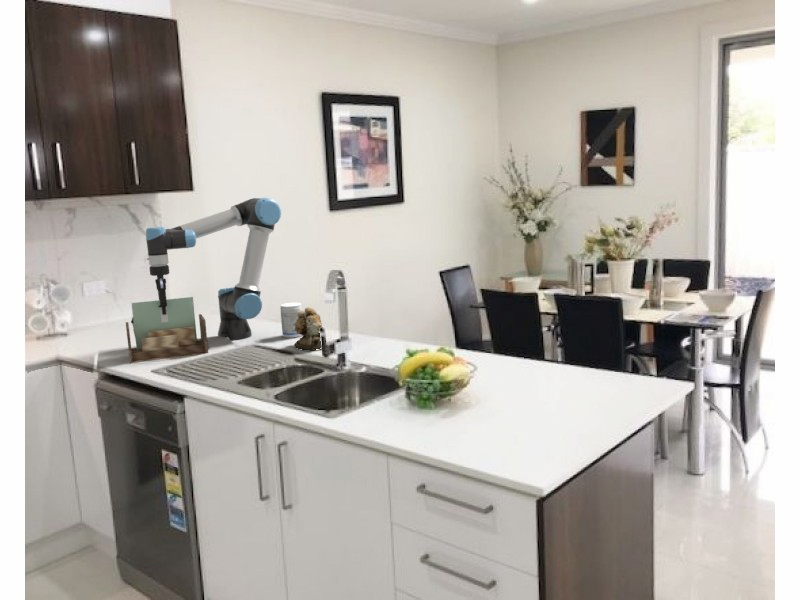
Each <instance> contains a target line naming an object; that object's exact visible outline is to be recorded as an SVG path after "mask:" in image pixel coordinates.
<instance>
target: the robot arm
mask: <svg viewBox="0 0 800 600" xmlns="http://www.w3.org/2000/svg"><path fill="white" fill-rule="evenodd" d="M281 211H282V209H281V206H280V205H279V203H278V202H277V201H276V200H274V199H272V198H268V197H260V198H257V197H254V198H249V199H247V200H245V201H242V202H240V203H237V204H235V205H232V206H231V207H230V209H226V210H224V211H221V212H217V213H215V214H212V215H209V216H208V215H207V216H206V217H203V218H199V219H197V220H194V221H190V222H188V223H184V224H181V225H179V226H175V227H173V228H165V227H163V226H156V227H155V226H153V227H148V228H146V230H145V238H146V239H145V240H146V248H147V249H146V250H147V255H148V256H147V258H146V260H147V261H148V264H149V274H150V276H152V277H155V276H156V279H155V281H154V282H155V285H156V290H157V296H158V300H160V306H158V307H160V312H161V322H162V323H163V322H168V312H167V301H166V300H167V293H166V292H167V291H166V290H167V286H166V284H167V279H166V278H164V276H167V275H170V265H168V264H169V254H168V250H179V249H189V248H194V247H196V244H197V239H200V238H203V237H206V236H208V235H210V234H211V235H212V234H214V233H217V232H221V231H224V230H226V229H230V228H232V227H234V226H237V227H242V226H244V225H245V226H247V227H248V229H249V232H248V237H247V242H246V246H245V252H244V256H243V262H242V266H241V271H240V275H239V276H240V277H239V282H238V283H236V284H235V285H234V286H232V287H225V288H220V289H219V290H218V292H217V293H218V295H217V298H218V307H219V316H220V317H219V319H220V323H219V328H218V331H217V336H218V337H221V338H228V339H229V340H230V341H231V340H232V341H234V340H241V339H246V338H249V337H251V336H252V329H251V326H250V324H249V322H248V320H252V319H255V318H256V317H257V316H259V314H260V313H261V311H262V309H263V301H262V299H261V297H260V296H261V292H262V290H261V289H260V287H259V285H260V279H261V275H262V270H263V267H264V262H265V256H266V250H267V247H268V240H269V236H270V234H271V233H273V232H274V229H275V225H276V224H277V223H278V222H279V221H280V220H281V216H282V212H281Z"/></svg>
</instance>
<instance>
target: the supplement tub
mask: <svg viewBox="0 0 800 600" xmlns="http://www.w3.org/2000/svg"><path fill="white" fill-rule="evenodd" d="M279 310H280V319H281V331H282V337H283V338H286V337H287V338H292V339H294V337H295V338H299V337H300V338H301V337H303V335H301V334H298V333H297V331H296V330H295V323H296V322H297V319H298V316H297V314H298V312H300V311H303V309H302V304H301V302H286V303H282V304H280V309H279Z"/></svg>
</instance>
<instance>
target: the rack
mask: <svg viewBox="0 0 800 600" xmlns="http://www.w3.org/2000/svg"><path fill="white" fill-rule="evenodd" d="M198 320H199V332H200V339H197V342H195V344H188V345H180V346H179V347H176V348H168V349H160V350H152V351H144V352H142V349H137V348H136V347H133V348H132V344H131V335H130V325H129V322H128V321H126V322H125V329H126V338H127V346H128V356H129V362H130V364H135V363H143V362H151V361H157V360H158V361H159V360H165V359H166V360H167V359H175V358H182V357H190V356H195V355H206V354H209V346H208V345H209V344H208V337H207V336H208V335H207V325H206V323H207V322H206V319H205V317H204V316H203V315H202V314H198Z"/></svg>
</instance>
